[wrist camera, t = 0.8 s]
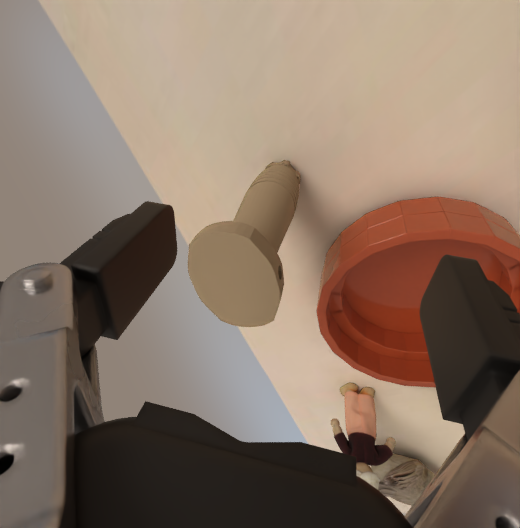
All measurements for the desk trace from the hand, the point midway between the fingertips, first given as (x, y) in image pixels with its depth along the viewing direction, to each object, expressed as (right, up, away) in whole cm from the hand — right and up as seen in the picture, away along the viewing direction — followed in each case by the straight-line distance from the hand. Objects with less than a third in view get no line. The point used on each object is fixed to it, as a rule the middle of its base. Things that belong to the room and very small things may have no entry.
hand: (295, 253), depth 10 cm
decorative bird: (+21, -29, +41) cm, 55 cm away
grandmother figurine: (+13, -17, +35) cm, 41 cm away
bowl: (+14, -2, +22) cm, 26 cm away
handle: (+1, +8, +19) cm, 21 cm away
